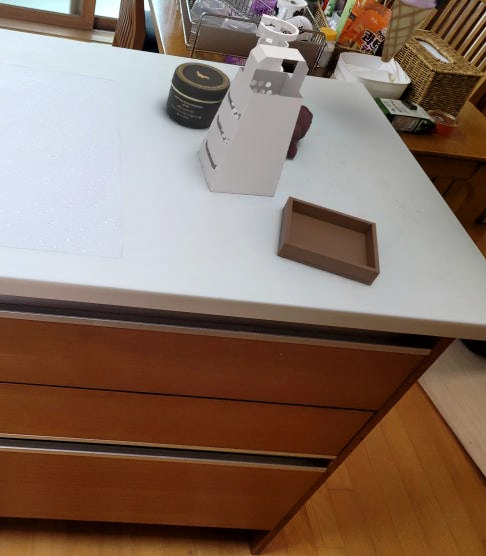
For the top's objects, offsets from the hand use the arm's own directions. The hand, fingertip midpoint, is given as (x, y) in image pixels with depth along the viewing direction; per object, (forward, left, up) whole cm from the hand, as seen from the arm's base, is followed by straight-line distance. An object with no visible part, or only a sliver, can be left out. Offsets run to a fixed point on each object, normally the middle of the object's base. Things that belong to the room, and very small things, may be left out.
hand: (414, 0), depth 90 cm
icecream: (+12, +13, -23) cm, 29 cm away
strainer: (+19, +1, -23) cm, 30 cm away
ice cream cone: (0, 0, -10) cm, 10 cm away
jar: (+29, +15, -23) cm, 40 cm away
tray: (+4, +40, -23) cm, 46 cm away
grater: (+19, +29, -23) cm, 42 cm away
